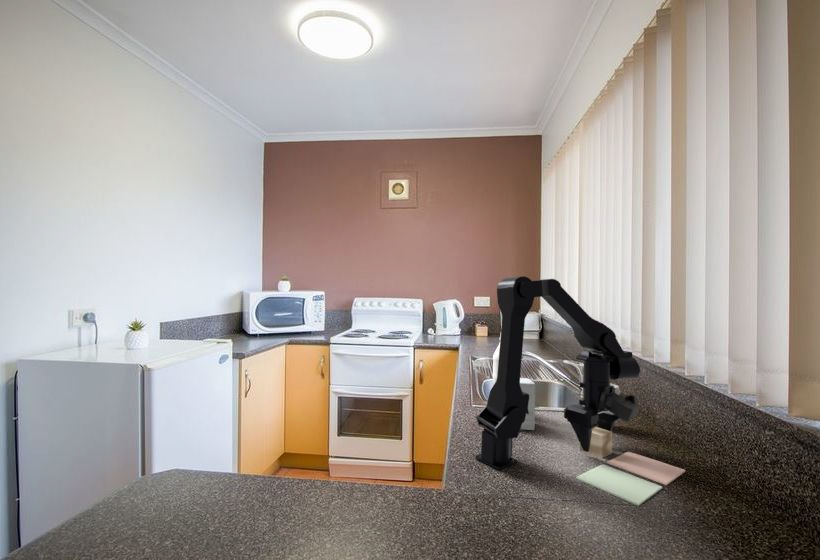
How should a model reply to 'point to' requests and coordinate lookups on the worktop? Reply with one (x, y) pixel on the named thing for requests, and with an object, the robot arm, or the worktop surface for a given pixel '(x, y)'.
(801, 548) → the worktop surface
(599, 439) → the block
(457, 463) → the worktop surface
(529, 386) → the supplement box
